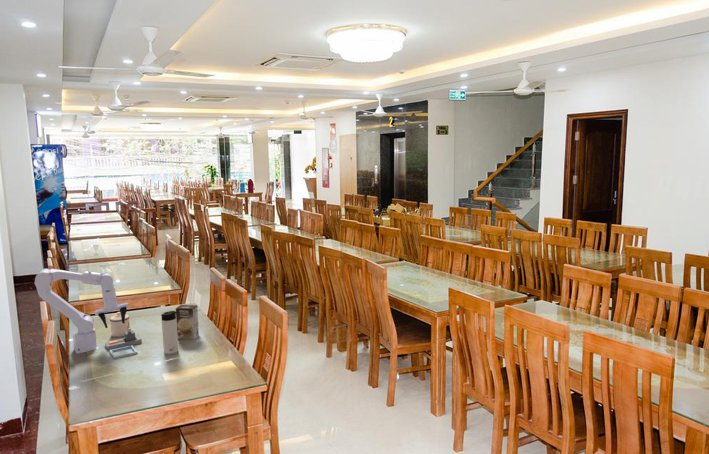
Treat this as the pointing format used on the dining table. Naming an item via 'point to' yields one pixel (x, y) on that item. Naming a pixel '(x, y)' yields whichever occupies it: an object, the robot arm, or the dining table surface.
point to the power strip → (122, 343)
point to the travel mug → (169, 333)
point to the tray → (123, 352)
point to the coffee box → (187, 322)
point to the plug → (129, 335)
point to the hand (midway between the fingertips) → (114, 325)
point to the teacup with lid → (119, 325)
